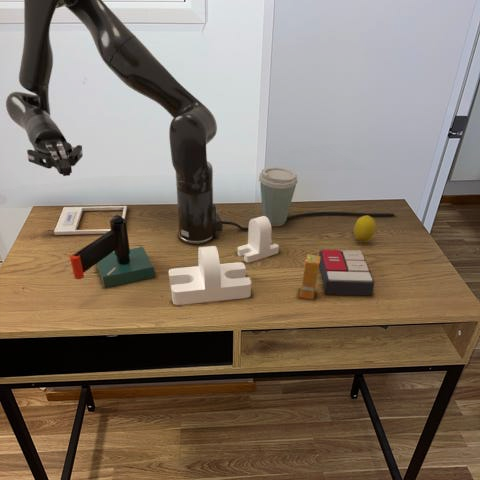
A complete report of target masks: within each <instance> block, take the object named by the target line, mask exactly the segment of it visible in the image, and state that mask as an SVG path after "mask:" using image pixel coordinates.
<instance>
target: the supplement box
mask: <svg viewBox="0 0 480 480" xmlns="http://www.w3.org/2000/svg"><path fill="white" fill-rule="evenodd" d="M320 259H321V257H320V256H319V255H316V254H310V253H308V254H307V255H306V260H305V263H304V270H303V273H302V274H303V275H302V280H301V284H300V285H301V286H300V292H299V298H300V299H306V300H314V298H315V292H316V287H317V280H318V275H319V270H320V266H319V264H320Z"/></svg>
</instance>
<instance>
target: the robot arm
mask: <svg viewBox="0 0 480 480" xmlns="http://www.w3.org/2000/svg"><path fill="white" fill-rule="evenodd" d="M23 3H24V4H23V6H24V7H23V10H24V11H23V15H24V16H23V21H24V24H23V26H24V27H23V29H24V31H23V33H24V34H23V47H22V54H21V59H20V60H21V61H20V67H19V73H18V83H19V84H20V86H21V87H22V88H24V89H25V90H26V91H28V93H27V92H22V91H12V92H11V93H9V94H8V96H7V97H6V100H5V108H6V111H7V115H8V116H9V118H10V119H11V120H12V121H13V122H14V123H15V124H16V125H18V126H19V127H20V128H22V129H23V130H25V132H26V135H27V137H28V141H29V142H30V144H31V145H32V147H33V149H27V150H26V152H27V160H28V162H29V163H32V164H35V165H38V166H40V167H43V168H45V169H47V170H48V169H52V168H55V170H56V171H57V172H58V174H60V175H62V176H63V177H67V176H71V174H72V173H73V169H72V167H75V166H76V165H77V163H79V161H80V160H81V159H82V158H83V155H84V154H83V145H80V144H78V145H76V146H73V145H72V144H71V143H70V142H68V141H67V139H66V137H65V136H64V134H63V132H62V131H61V129H60V128H59V126H58V124H57V123H56V122H55V121H54V120H53V118H52V117H51V106H50V94H49V93H50V91H49V90H50V82H51V77H52V73H53V68H54V52H53V47H52V43H51V36H50V30H51V23H52V21H53V17H54V14H55V11H56V9H61V8H64V7H65V8H66V9H67V10H69V12H71V13H72V14H73V15H74V16H75V17H77V19H78V20H79V21H80V22H81V23H82V24H83V25H84V26H85V28H86V30H88V31H89V33H90V35H91V38H92V41H93V43H94V46H95V48H96V50H97V52H98V54H99V56H100V58H101V60H102V61H103V62H104V63H103V64H105V65H106V66H107V67H108V69H110V71H111V72H112V73H113V74H114V75H115V76H116V77H117V78H118V79H119V80H120V81H121V82H122V83H123V84H125V85H126V86H127V87H129V88H130V89H131V90H133V91H135V92H136V93H139V94H140V95H143V96H144V97H146V98H148V99H150V100H152V101H153V102H155V103H156V104H158V105H159V106H161V107H162V108H163V109H164V110H165V111H166V112H167V113H168V114H169V115H170V116H171V117H172V119H171V121H170V124H169V129H168V130H169V131H168V135H169V137H168V138H169V148H170V158H171V163H172V167H173V169H174V170H175V183H176V184H175V186H176V201H177V203H176V204H177V216H178V218H177V219H178V238H179V240H180V241H181V242H183V243H185V244H188V245H203V244H208V243H209V242H211V241H212V240H214V239H217V233H219V232H223V225H231V226H234V227H237V228H238V229H239V230H243V231H248V229H249V227H244V226H241V225H239V224H238V223H237V222H233V221H224V220H222V218H221V217H220V215H219V213H218V212H217V206H216V204H215V203H214V180H213V179H214V177H213V176H214V170H213V169H214V167H213V165H212V163H211V162H210V161H208V158H207V156H208V154H207V145H208V144H209V143H210V142H211V141H212V140H214V138H215V136H216V134H217V132H218V125H217V120H216V117H215V116H214V114H213V113H212V111H211V110H210V109H209V108H208V107H207V106H206V105H205V104H204V103H202V102H201V101H200V100H199V99H198V98H197V97H195V96H194V95H193V94H192V93H191V92H190V91H189V90H188V89H186V88H185V87H184V86H183V85H182V84H181V83H180V82H179V81H178V80H177V79H176V78H175V77H174V76H173V75H172V73H170V72H169V70H168V69H167V68H166V67H165V66H164V64H162V63H161V62H160V61H159V59H157V58H156V57H155V56H154V54H153V53H152V52H151V51H150V50H149V49H148V47H147V46H146V45H145V44H144V43H143V42H142V41H141V40H140V39H139V38H138V37H137V36H136V35H135V34H134V33H133V32H132V31H131V30H130V29H129V27H127V26H126V25H125V24H124V23H123V21H121V19H120V18H119V17H118V16H117V15H116V14H115V13H114V12H113V11H112V10H111V9H110V7H108V6H107V4H105V2H104V1H103V0H23ZM29 92H30V93H29ZM316 215H318V216H319V215H347V216H348V215H349V216H366V215H368V216H370V217H372V216H373V217H376V216H377V217H383V216H384V217H393V216H395V213H394V212H355V211H354V212H352V211H314V212H313V211H312V212H304V213H299V214H294V215H289V216H287V219H286V221H288V220H292V219H296V218H301V217H306V216H316Z"/></svg>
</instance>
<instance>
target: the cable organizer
mask: <svg viewBox="0 0 480 480" xmlns="http://www.w3.org/2000/svg"><path fill="white" fill-rule="evenodd" d="M248 228H249V229H248V230H247V232H248V233H247V243H246V244H242V245H240V246H237V254H236V255H238V257H243V261H244V262H245V263H248V264H250V263H252V262H256V261H258V260H261V259H265V258H268V257H271V256H274V255H277V254H279V249H280V246H279V244H278V243H272V242H273V239H272V230H273V229H272V226H271V224H270V221H269V219H268V218H267V217H266V216H263V215H262V216H258V217H255V218H254V217H253V218H251V219H250V220H249V221H248Z"/></svg>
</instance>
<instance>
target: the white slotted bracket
mask: <svg viewBox="0 0 480 480" xmlns="http://www.w3.org/2000/svg"><path fill="white" fill-rule="evenodd" d="M197 257H198V258H197V259H198V261H197V262H198V265H196V266H186V267H185V266H184V267H175V268H170V269H168V283H169V289H170V290H171V300H172V304H173V305H174V306H183V305H194V304H202V303H211V302H213V303H214V302H221V301H232V300H240V299H248V298H250V297H251V296H252V295H251V293H252V292H251V291H252V280H251V278H250V276H247V277H246V274H247V268H246V266H245V264H244V263H243V262H241V261H240V262H228V263H221V261H220V255H219V251H218V248H217V246H216V245H211V246H199V247H198V252H197Z"/></svg>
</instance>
